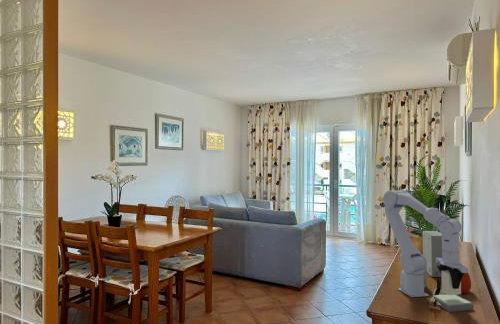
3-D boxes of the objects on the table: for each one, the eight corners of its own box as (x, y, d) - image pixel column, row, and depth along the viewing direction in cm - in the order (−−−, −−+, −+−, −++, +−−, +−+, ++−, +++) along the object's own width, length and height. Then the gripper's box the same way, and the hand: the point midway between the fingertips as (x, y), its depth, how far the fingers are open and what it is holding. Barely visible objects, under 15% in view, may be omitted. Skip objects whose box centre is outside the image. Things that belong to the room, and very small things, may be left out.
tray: (431, 301, 138) (431, 295, 138) (453, 299, 139) (453, 293, 139) (449, 311, 128) (449, 304, 128) (473, 309, 129) (473, 302, 129)
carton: (441, 291, 135) (441, 270, 135) (453, 290, 136) (452, 270, 136) (449, 295, 131) (448, 273, 131) (461, 294, 132) (460, 273, 132)
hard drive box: (449, 278, 166) (448, 236, 167) (431, 277, 168) (430, 235, 168) (438, 268, 181) (437, 230, 182) (422, 268, 183) (421, 230, 183)
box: (422, 284, 158) (422, 259, 158) (427, 287, 154) (427, 262, 154) (411, 284, 158) (410, 260, 158) (416, 287, 153) (415, 262, 154)
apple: (436, 288, 152) (436, 264, 153) (453, 284, 157) (453, 261, 157) (460, 296, 143) (459, 270, 143) (477, 292, 147) (476, 267, 147)
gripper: (428, 247, 140) (429, 281, 140) (455, 256, 126) (456, 293, 126) (444, 246, 142) (444, 279, 141) (472, 255, 127) (473, 292, 127)
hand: (451, 286), depth 134 cm, fingers closed on carton, 4 cm apart
